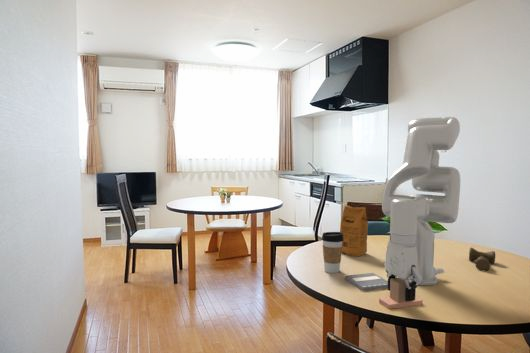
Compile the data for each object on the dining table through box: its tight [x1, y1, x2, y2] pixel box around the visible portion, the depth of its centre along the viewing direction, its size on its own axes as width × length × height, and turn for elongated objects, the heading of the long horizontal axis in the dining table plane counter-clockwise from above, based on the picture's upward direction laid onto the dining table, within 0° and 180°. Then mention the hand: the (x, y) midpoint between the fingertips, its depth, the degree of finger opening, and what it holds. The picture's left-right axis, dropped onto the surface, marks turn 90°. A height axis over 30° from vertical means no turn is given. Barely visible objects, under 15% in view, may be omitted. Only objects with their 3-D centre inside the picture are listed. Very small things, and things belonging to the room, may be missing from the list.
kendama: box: [468, 247, 496, 272], centre depth 149 cm, size 6×10×20 cm
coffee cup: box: [321, 231, 344, 274], centre depth 139 cm, size 8×8×15 cm
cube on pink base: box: [378, 277, 424, 309], centre depth 109 cm, size 12×5×7 cm, turn 107°
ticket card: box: [344, 272, 388, 292], centre depth 126 cm, size 12×12×1 cm
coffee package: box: [339, 204, 369, 257], centre depth 164 cm, size 10×12×22 cm
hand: (400, 294), depth 109 cm, fingers open, 7 cm apart
